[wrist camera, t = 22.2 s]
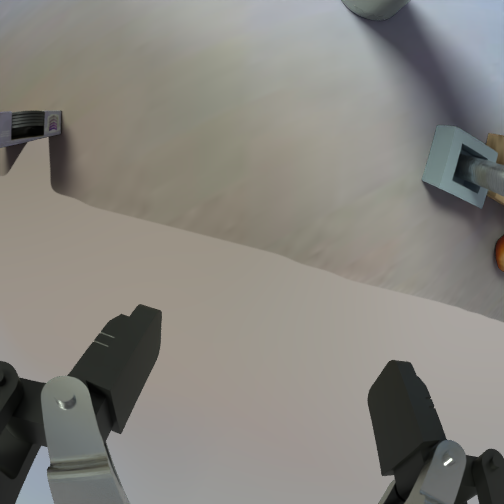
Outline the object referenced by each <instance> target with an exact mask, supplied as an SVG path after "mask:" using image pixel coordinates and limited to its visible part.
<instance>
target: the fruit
mask: <svg viewBox="0 0 504 504" xmlns="http://www.w3.org/2000/svg"><path fill="white" fill-rule="evenodd" d="M496 260H497V264H498V267H499V269H501V270H502V271H503V272H504V235H503V236H502V237H501V238H500V239H499V240H498V241H497V243H496Z"/></svg>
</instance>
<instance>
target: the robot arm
mask: <svg viewBox="0 0 504 504" xmlns="http://www.w3.org/2000/svg"><path fill="white" fill-rule="evenodd" d="M409 1H410V0H342V2H343V3H344V4H345V5H346V7H348V8H349V9H350V10H351V11H352V12H354V13H356V14H357V15H359V16H361V17H364V18H367V19H370V20H385V19H389V18H390V17H392V16H393V15H394V14H395V13H397V12H398V11H399V10H400V9H401V8H402V7H403V6H405V5H406V4H407V3H408V2H409ZM161 321H162V312H161V311H160V310H157V309H154V308H151V307H148V306H144V305H141V304H140V305H138V306H137V307H136V309H135V310H134V311H133V312H132V314H131V315H130V317H129V316H126V315H123V314H121V315H119V316H117V317H115V318H114V319H112V320H110V321H109V322H108V323H107V324H106V326H105V327H104V328H103V330H102V331H101V333H100V334H99V335H98V336H97V337H96V339H95V340H94V342H93V343H92V344H91V345H90V346H89V348H88V349H87V350H86V352H85V353H84V354H83V356H82V357H81V358H80V360H79V361H78V362H77V364H76V365H75V366H74V368H73V370H72V371H71V372H70V373H69V374H68V375H67V376H59V377H56V378H53V379H51V380H50V381H48V382H47V383H41V382H36V381H31V380H27V379H23V378H19V377H18V374H17V373H16V370H15V369H14V368H13V366H12V365H10V364H9V363H6V362H3V361H0V504H15V502H16V500H17V497H18V495H19V492H20V490H21V488H22V486H23V483H24V481H25V479H26V476H27V474H28V472H29V470H30V467H31V465H32V463H33V461H34V459H35V457H36V455H37V453H38V451H39V449H40V447H41V446H45V447H48V452H49V456H50V463H51V464H50V467H48V469H47V476H48V482H49V486H50V490H51V493H52V497H53V500H54V503H55V504H130V502H129V500H128V498H127V496H126V494H125V492H124V490H123V487H122V485H121V482H120V480H119V477H118V474H117V472H116V470H115V466H114V464H113V461H112V458H111V455H110V452H109V449H108V446H107V443H106V440H107V437H108V435H109V433H110V431H111V430H112V431H114V432H117V433H119V434H121V433H122V431H123V429H124V427H125V425H126V422H127V420H128V418H129V416H130V414H131V412H132V409H133V408H134V405H135V403H136V401H137V399H138V397H139V395H140V393H141V391H142V389H143V387H144V384H145V382H146V380H147V378H148V376H149V374H150V372H151V370H152V368H153V366H154V364H155V362H156V360H157V357H158V354H159V350H160V343H161ZM430 398H431V397H430V394H429V392H428V389H427V387H426V385H425V384H424V383H423V382H422V381H421V379H420V378H419V377H418V376H417V375H416V373H415V371H414V368H413V366H412V364H411V363H410V362H404V361H396V360H391V361H389V362H388V363H387V365H386V366H385V368H384V369H383V371H382V372H381V374H380V375H379V377H378V378H377V380H376V381H375V382H374V384H373V385H372V387H371V389H370V391H369V394H368V406H369V411H370V416H371V420H372V425H373V430H374V435H375V440H376V445H377V451H378V456H379V462H380V468H381V474H382V476H387V475H394V476H395V480H393V481H392V482H391V483H390V485H389V486H388V488H387V490H386V492H385V493H384V495H383V497H382V498H381V500H380V502H379V503H378V504H467V500H469V499H471V498H472V497H474V496H475V495H478V500H479V504H504V458H503V456H502V455H501V454H500V453H499V452H498V451H497V450H495V449H488V450H486V451H485V452H484V453H483V454H482V455H480V456H479V457H474V456H468V455H465V452H464V450H463V449H462V447H461V446H460V445H459V444H458V443H456V442H454V441H452V440H447V439H446V437H445V434H444V431H443V428H442V425H441V423H440V420H439V417H438V415H437V412H436V409H435V408H434V404H433V402H432V400H431V399H430Z"/></svg>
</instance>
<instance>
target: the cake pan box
mask: <svg viewBox="0 0 504 504" xmlns="http://www.w3.org/2000/svg"><path fill="white" fill-rule="evenodd" d="M59 134H61V111H21V112H13V113H12V112H11V111H9V112H0V148H2V147H7V146H11V145H16V144H20V143H25V142H29V141H33V140H37V139H41V138H45V137H50V136H54V135H59Z"/></svg>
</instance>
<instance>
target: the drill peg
mask: <svg viewBox="0 0 504 504" xmlns="http://www.w3.org/2000/svg"><path fill="white" fill-rule="evenodd" d="M453 176H455V177H458V178H461V179H463V180H466V181H468V182H471V183H473V184H476V185H478V186H481V187H483V188H485V189H488V190H490V191H492V192H494V193H497V194H499V195H501V196H503V197H504V165H501V164H498V163H494V162H491V161H487V160H484V159H480V158H476V157H472V156H468V155H464V154H459V158H458V162H457V165H456V169H455V172H454V175H453Z"/></svg>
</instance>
